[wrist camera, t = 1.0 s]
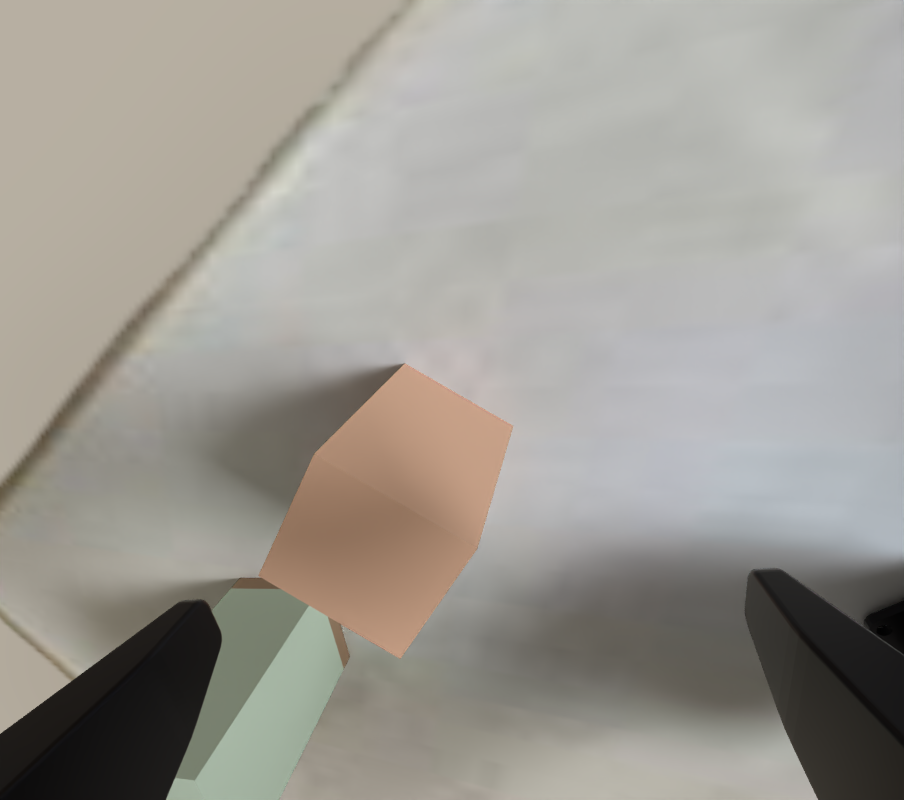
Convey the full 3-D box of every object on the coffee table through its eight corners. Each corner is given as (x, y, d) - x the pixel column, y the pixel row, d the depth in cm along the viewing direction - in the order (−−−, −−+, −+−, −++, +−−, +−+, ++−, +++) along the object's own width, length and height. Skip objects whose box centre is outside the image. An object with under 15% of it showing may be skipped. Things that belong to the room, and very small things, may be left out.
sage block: (326, 578, 27) (195, 780, 18) (349, 656, 28) (240, 877, 19) (239, 577, 28) (76, 765, 19) (267, 652, 30) (128, 857, 21)
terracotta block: (513, 426, 22) (476, 548, 14) (456, 513, 24) (400, 658, 16) (404, 363, 22) (314, 453, 14) (357, 456, 24) (258, 575, 16)
